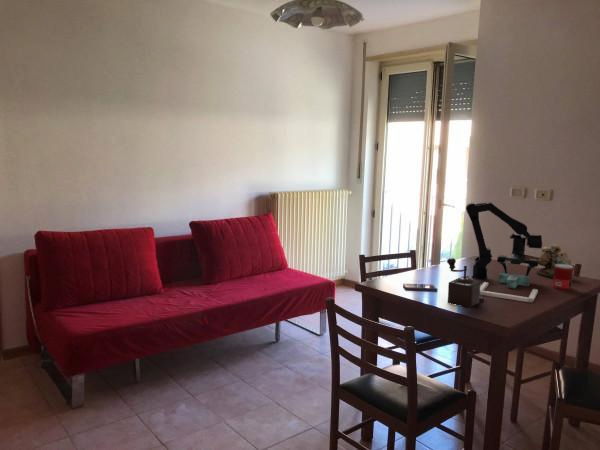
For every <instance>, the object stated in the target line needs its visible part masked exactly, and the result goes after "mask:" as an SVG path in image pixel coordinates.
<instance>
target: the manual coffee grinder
mask: <svg viewBox="0 0 600 450" xmlns="http://www.w3.org/2000/svg"><path fill="white" fill-rule="evenodd" d="M456 262H457V261H456V259H455V258H453V257H451V258H450V257H449V258H447V261H446V263H447V264H448V267H449V269H450V272H454V273H455V272H456V273H458V272H459V273H462V272H463V276H461V277H458V278H457V277H456V279H453V280H451V281H449V282H448V288H447V289H448V292H447V303H448V304H450V303H451V305H454V304H456V305H455V306H458V305H461V306H460V307H463V306H465V307H464V308H468V307H471V308H473V307H475V306H476V304H477V305H479V304H480V296H481V295H480V286H481V282H480V281H478V280H477V281H476V280H474V279H472V278H471V277H470V275H467V271H468V269H467V268H468V266H467V265H464V266H463V269H456V266H455V265H456ZM474 305H475V306H474ZM472 306H473V307H472Z"/></svg>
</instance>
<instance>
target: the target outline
mask: <svg viewBox="0 0 600 450" xmlns="http://www.w3.org/2000/svg"><path fill="white" fill-rule="evenodd" d="M488 286H489V282H488V281H487V282H486V281H484V282H483V283H482V284H480V296H487V297H493V298H500V299H506V300H513V301H518V302H519V301H520V302H527V303H531V304H532V303H534V301H535V299H536V297H537V296H538V293H539V290H538V289H536V288H533V289H532V290H531V292H530V293H529V296H528V297H526V296H521V295H515V294H509V293H501V292H493V291H487V290H486V289H487V287H488Z"/></svg>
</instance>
